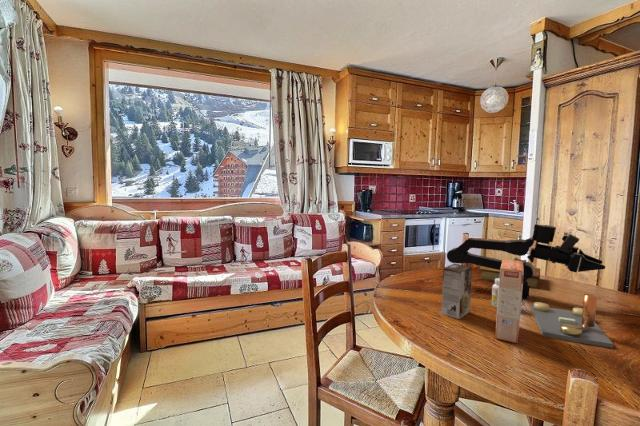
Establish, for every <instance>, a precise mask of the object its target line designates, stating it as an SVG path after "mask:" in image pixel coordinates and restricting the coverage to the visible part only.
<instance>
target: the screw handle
mask: <svg viewBox="0 0 640 426" xmlns="http://www.w3.org/2000/svg"><path fill="white" fill-rule="evenodd" d="M582 300H583V301H582V302H583V303H582V308H583V312H582V325H578V326H575V325H571V324H561V325H560V331H561V332H563V333H565V334H568V335H572V336H581V335H582V331H583V330H587V329H591V327H594V326H595V323H596V314H597V312H596V311H597V302H598V296H597V295H595V294H590V293H584V294H583V299H582Z"/></svg>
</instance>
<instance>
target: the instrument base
mask: <svg viewBox="0 0 640 426" xmlns="http://www.w3.org/2000/svg"><path fill="white" fill-rule="evenodd" d="M530 307H531V308H530V309H531V311H532V313H533V316H534V319H535V321H536V323H537V326H538V328H539V331H540V332H541V336H542V337H546V338H552V339H557V340H562V341H569V342H573V343H580V344H585V345H590V346H591V345H592V346H597V347H602V346H604V347H603V348H608V347H610V348H609V349H614V343H613V342H612V340H610V338H609V337H608V336H607V334H605V332H604V331H603V330H602V329H601V327H600V326H599V325H598V324H597V323H596V322H595V326H594V327H591V329H587V330H583V331H582V335H581V336H572V335H568V334H565V333H563V332H561V331H560V325H561V324H571V325H575V326H578V325H582V312H583V307H573V308H572V310H567V309H560V308H553V307H550V305H549V304H548V303H544V302H539V301H535V302H533V305H532V304H531V306H530Z"/></svg>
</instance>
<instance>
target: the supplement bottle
mask: <svg viewBox="0 0 640 426" xmlns="http://www.w3.org/2000/svg"><path fill="white" fill-rule="evenodd" d="M498 291H499V278H496V279H495V282H494V284H492V289H491V305H492V306H493V307H495V308H497V305H498Z"/></svg>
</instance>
